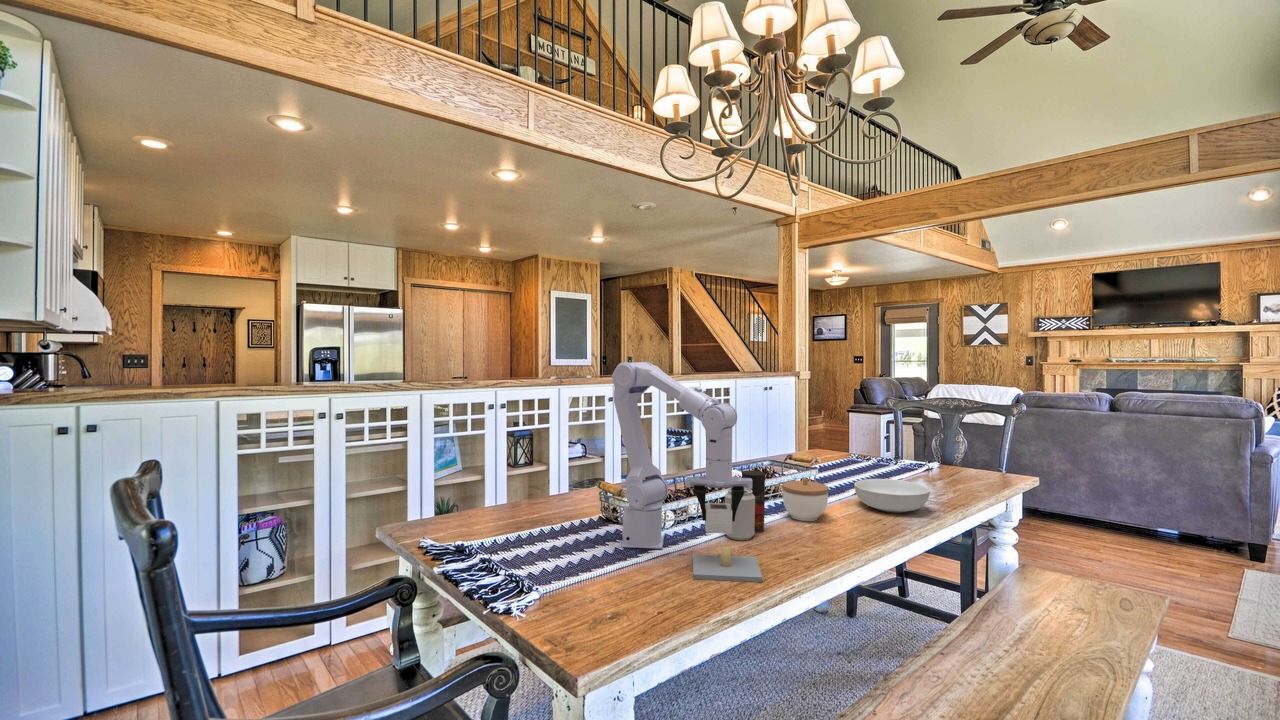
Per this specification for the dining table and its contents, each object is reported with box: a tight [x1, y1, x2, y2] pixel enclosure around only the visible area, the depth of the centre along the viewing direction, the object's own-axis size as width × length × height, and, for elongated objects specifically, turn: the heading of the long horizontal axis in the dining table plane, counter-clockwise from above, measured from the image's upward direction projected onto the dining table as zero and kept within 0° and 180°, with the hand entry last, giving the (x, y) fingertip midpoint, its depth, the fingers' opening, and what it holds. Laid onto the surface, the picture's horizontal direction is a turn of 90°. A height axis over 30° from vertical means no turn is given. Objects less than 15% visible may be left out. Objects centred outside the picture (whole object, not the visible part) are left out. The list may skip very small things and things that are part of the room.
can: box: [724, 488, 755, 541], centre depth 151 cm, size 8×8×12 cm
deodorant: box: [741, 469, 766, 534], centre depth 157 cm, size 6×6×15 cm
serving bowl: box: [853, 478, 931, 514], centre depth 179 cm, size 21×21×7 cm
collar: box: [704, 502, 732, 534], centre depth 132 cm, size 6×6×5 cm
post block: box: [692, 544, 763, 583], centre depth 128 cm, size 14×12×5 cm
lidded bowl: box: [781, 477, 830, 522], centre depth 168 cm, size 13×13×11 cm
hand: (718, 519), depth 132 cm, fingers closed on collar, 6 cm apart
